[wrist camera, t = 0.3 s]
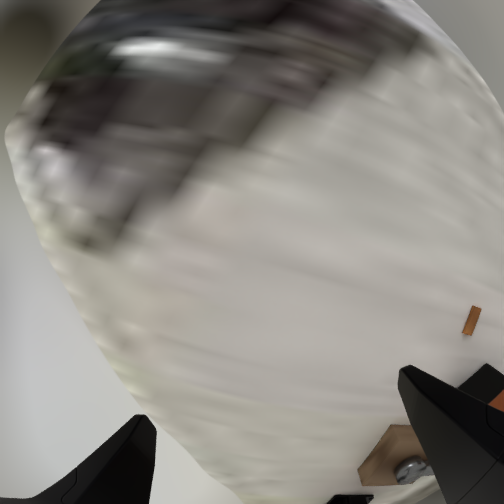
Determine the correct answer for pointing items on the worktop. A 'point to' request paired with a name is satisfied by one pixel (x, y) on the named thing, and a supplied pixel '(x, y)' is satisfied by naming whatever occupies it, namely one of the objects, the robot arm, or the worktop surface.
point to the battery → (486, 386)
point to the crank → (412, 470)
